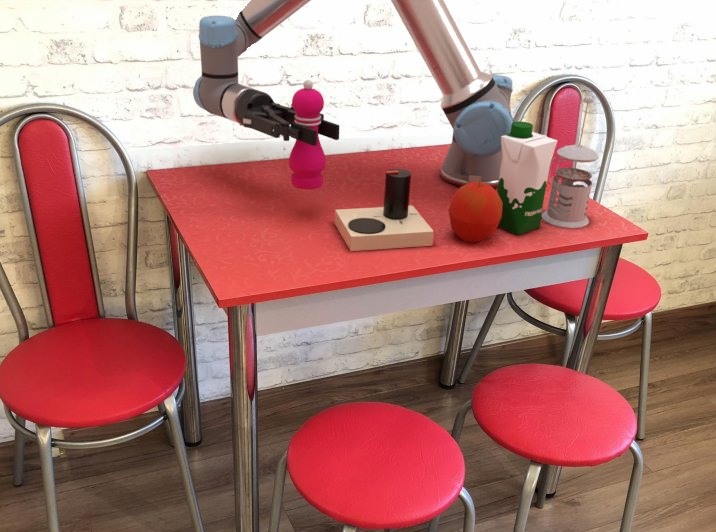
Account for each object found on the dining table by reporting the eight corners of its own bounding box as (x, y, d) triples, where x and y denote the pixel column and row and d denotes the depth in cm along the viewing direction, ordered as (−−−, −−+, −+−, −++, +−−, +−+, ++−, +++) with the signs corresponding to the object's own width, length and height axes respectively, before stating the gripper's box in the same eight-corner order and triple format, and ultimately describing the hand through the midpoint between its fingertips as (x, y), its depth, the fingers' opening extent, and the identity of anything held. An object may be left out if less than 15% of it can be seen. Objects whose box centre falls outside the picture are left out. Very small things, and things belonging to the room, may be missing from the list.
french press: (559, 230, 159) (584, 104, 146) (527, 209, 168) (547, 88, 155) (599, 224, 163) (626, 100, 150) (565, 204, 172) (588, 85, 159)
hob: (411, 219, 161) (412, 204, 159) (432, 245, 150) (434, 230, 149) (334, 223, 157) (335, 208, 155) (350, 251, 147) (351, 235, 145)
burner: (379, 218, 153) (379, 216, 153) (389, 232, 147) (389, 231, 147) (344, 220, 151) (344, 218, 151) (353, 235, 146) (353, 233, 145)
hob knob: (403, 209, 157) (406, 166, 152) (410, 219, 153) (414, 175, 148) (380, 210, 156) (382, 167, 151) (387, 220, 152) (390, 176, 147)
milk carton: (512, 214, 166) (527, 117, 155) (546, 228, 160) (565, 129, 149) (484, 223, 161) (497, 124, 150) (519, 238, 155) (536, 137, 144)
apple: (501, 249, 150) (510, 191, 144) (448, 247, 150) (455, 188, 144) (494, 228, 159) (502, 172, 153) (444, 225, 159) (450, 169, 153)
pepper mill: (320, 192, 154) (322, 86, 143) (284, 188, 155) (283, 82, 144) (329, 179, 160) (331, 77, 149) (294, 176, 161) (294, 73, 150)
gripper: (283, 118, 169) (360, 146, 156) (213, 133, 158) (289, 164, 145) (283, 82, 165) (361, 107, 152) (211, 95, 154) (289, 123, 141)
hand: (326, 135), depth 148 cm, fingers closed on pepper mill, 5 cm apart
